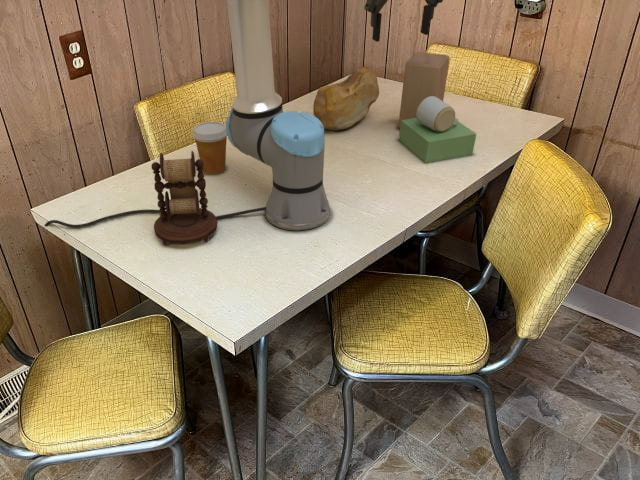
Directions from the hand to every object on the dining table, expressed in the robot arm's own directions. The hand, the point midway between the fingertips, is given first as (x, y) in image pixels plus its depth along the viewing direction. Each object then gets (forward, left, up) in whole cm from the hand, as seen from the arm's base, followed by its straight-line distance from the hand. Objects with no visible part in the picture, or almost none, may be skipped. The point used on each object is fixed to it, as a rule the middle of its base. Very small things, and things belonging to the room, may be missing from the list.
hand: (400, 37), depth 152 cm
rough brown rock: (-7, +21, -29) cm, 36 cm away
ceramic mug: (+10, -8, -23) cm, 26 cm away
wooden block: (+13, +7, -29) cm, 32 cm away
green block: (+10, -8, -29) cm, 31 cm away
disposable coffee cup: (-52, +1, -29) cm, 59 cm away
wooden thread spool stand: (-65, -29, -29) cm, 77 cm away
